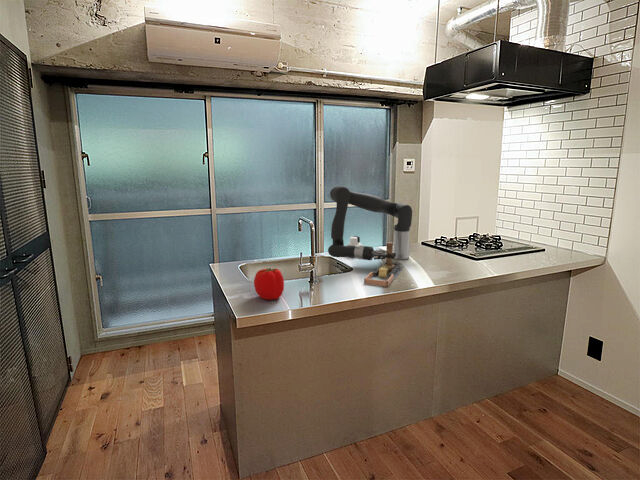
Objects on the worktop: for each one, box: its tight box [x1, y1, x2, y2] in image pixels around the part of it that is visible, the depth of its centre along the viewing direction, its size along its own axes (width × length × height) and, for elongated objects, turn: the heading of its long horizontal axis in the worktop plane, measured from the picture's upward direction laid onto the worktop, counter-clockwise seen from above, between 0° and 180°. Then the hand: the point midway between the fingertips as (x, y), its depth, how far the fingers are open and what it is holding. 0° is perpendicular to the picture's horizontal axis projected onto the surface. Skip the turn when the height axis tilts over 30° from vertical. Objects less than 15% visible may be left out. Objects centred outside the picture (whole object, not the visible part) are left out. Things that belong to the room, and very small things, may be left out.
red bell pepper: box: [253, 267, 285, 301], centre depth 170 cm, size 16×14×14 cm
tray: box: [363, 271, 395, 288], centre depth 190 cm, size 13×12×3 cm
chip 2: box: [382, 265, 391, 275], centre depth 202 cm, size 4×4×4 cm
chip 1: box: [378, 267, 389, 279], centre depth 198 cm, size 4×4×4 cm
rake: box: [385, 241, 395, 272], centre depth 208 cm, size 7×5×15 cm
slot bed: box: [372, 261, 404, 280], centre depth 206 cm, size 22×13×3 cm, turn 157°
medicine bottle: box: [346, 235, 363, 246], centre depth 243 cm, size 7×7×12 cm
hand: (394, 255), depth 207 cm, fingers closed on rake, 3 cm apart
